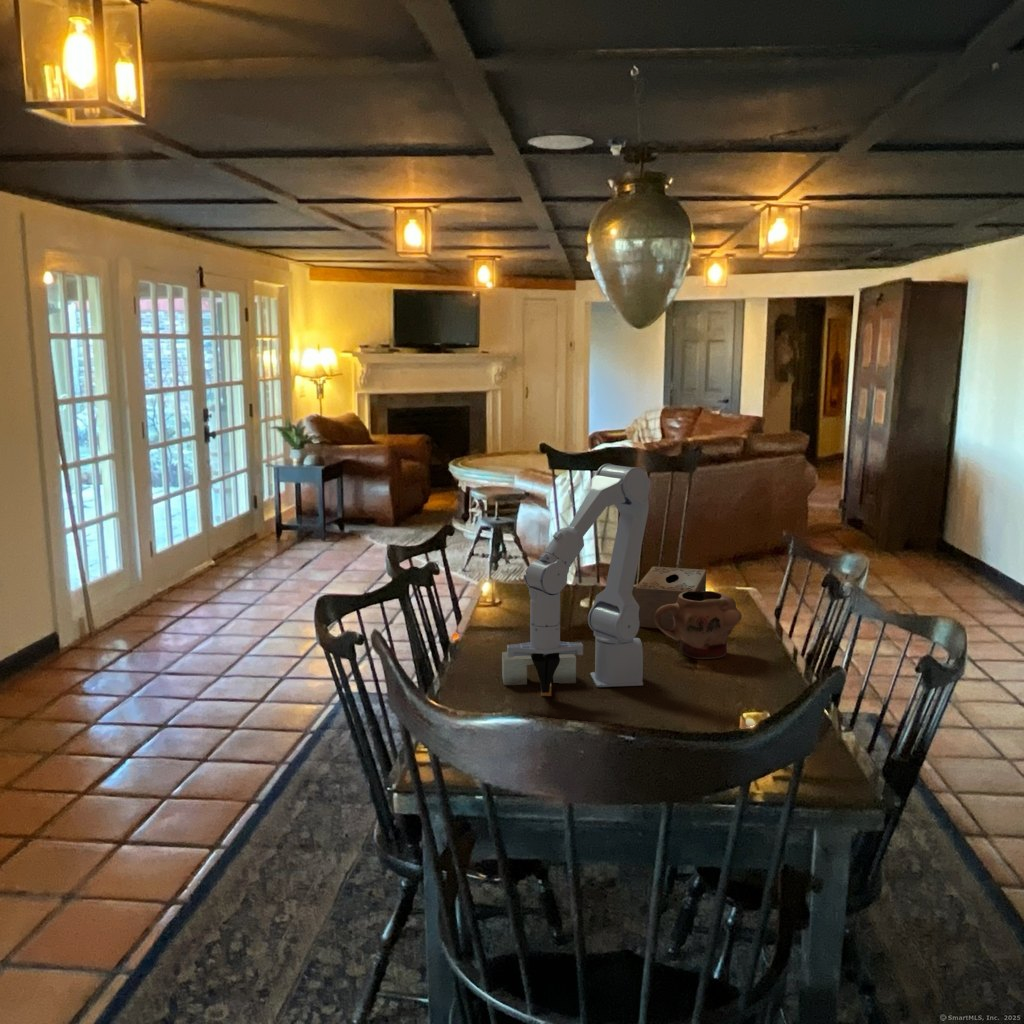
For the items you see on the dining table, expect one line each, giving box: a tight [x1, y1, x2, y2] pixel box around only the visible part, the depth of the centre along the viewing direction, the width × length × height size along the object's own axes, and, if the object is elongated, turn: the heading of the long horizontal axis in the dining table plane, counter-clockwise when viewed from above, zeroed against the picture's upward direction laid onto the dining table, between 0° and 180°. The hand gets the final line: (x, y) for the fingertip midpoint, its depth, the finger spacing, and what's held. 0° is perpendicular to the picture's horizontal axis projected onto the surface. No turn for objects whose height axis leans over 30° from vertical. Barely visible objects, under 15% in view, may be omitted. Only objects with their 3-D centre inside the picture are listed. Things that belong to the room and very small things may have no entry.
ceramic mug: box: [654, 590, 743, 660], centre depth 204 cm, size 20×12×14 cm, turn 105°
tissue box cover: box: [634, 566, 707, 630], centre depth 237 cm, size 26×14×10 cm, turn 162°
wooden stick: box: [540, 683, 552, 697], centre depth 188 cm, size 17×3×3 cm, turn 179°
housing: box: [501, 651, 577, 686], centre depth 189 cm, size 15×5×5 cm, turn 95°
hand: (544, 690), depth 179 cm, fingers closed, pressing on wooden stick
